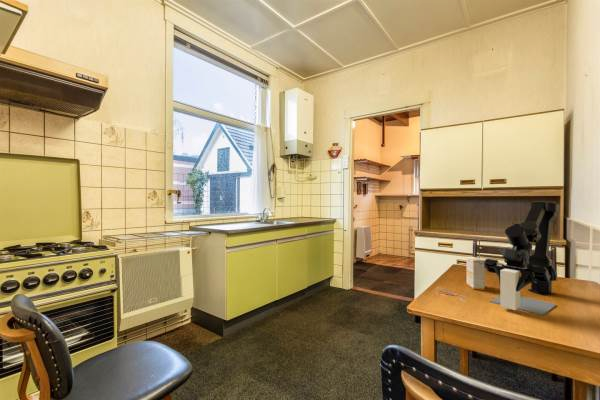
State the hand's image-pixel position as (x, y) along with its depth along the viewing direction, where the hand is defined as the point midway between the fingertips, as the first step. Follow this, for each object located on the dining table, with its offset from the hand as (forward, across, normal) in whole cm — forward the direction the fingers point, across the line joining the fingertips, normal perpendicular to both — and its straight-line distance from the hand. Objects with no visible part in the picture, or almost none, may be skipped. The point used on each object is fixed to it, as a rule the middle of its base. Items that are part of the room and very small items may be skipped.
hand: (508, 289), depth 101 cm
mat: (-4, 0, +15) cm, 15 cm away
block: (+4, 0, +6) cm, 7 cm away
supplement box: (-8, -20, +20) cm, 29 cm away
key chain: (+6, -20, +6) cm, 21 cm away
